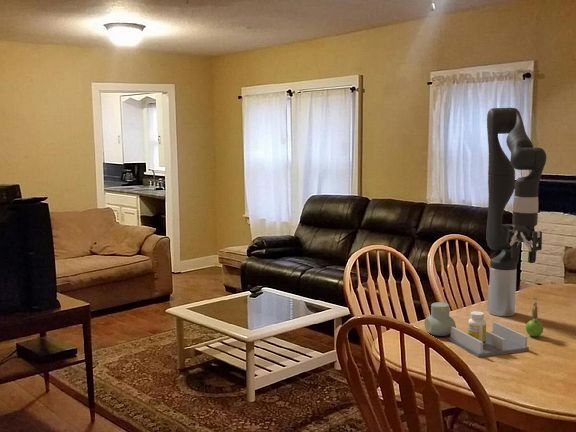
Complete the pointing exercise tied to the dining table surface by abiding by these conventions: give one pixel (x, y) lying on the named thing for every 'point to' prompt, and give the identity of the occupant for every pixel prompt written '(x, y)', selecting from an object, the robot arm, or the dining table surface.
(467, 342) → the gray divided storage rack
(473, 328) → the supplement bottle
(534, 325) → the snail figurine
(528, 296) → the dining table surface
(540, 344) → the dining table surface
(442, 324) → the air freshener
